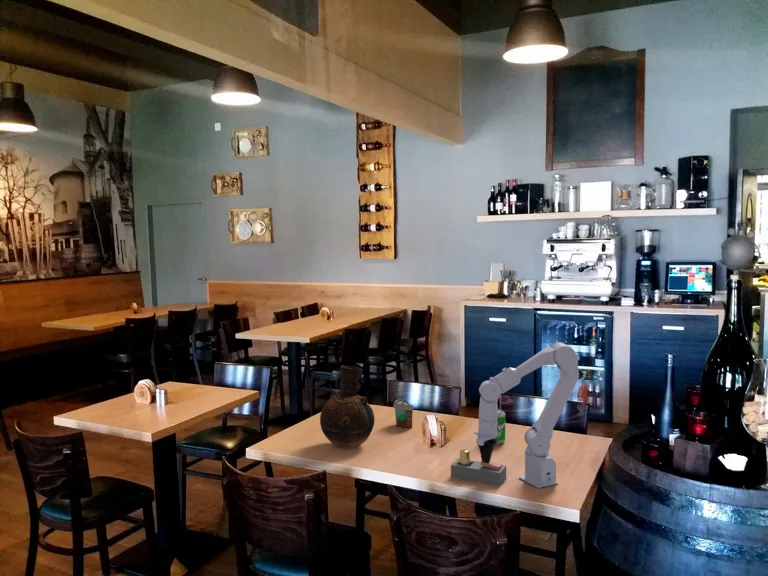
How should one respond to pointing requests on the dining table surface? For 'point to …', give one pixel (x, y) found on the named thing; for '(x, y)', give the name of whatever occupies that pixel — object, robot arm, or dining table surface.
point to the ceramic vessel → (347, 412)
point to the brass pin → (465, 457)
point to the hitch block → (478, 473)
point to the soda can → (500, 427)
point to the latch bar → (492, 465)
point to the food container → (403, 413)
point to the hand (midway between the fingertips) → (485, 462)
